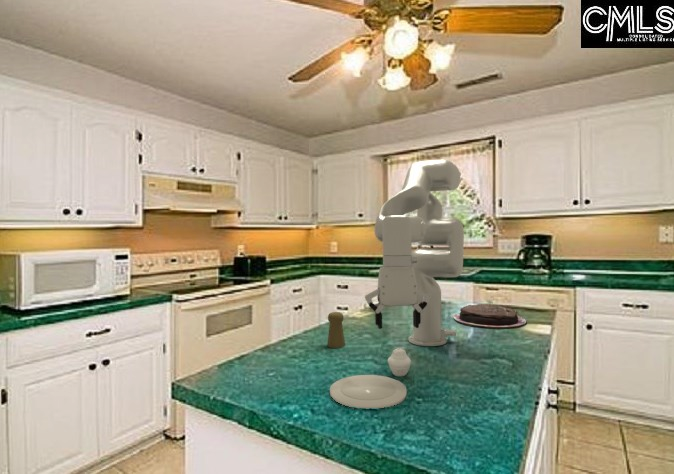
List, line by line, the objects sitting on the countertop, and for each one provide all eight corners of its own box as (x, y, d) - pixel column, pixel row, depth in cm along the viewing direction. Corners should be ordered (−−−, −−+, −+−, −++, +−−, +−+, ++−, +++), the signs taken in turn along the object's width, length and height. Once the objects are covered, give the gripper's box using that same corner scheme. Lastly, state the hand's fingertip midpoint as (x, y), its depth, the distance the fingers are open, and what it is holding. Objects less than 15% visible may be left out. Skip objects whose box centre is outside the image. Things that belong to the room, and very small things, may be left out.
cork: (343, 348, 132) (342, 314, 132) (325, 347, 134) (324, 314, 133) (346, 343, 138) (346, 310, 138) (329, 342, 139) (328, 310, 139)
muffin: (405, 380, 104) (405, 353, 103) (384, 376, 107) (383, 349, 107) (414, 372, 109) (414, 346, 109) (393, 368, 112) (393, 343, 112)
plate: (397, 377, 106) (397, 372, 106) (415, 407, 88) (415, 402, 88) (328, 380, 105) (328, 375, 105) (332, 411, 87) (331, 406, 87)
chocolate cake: (530, 318, 170) (530, 302, 170) (520, 333, 147) (520, 315, 146) (463, 312, 185) (463, 297, 185) (444, 325, 162) (443, 308, 161)
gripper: (425, 261, 111) (426, 323, 111) (362, 261, 110) (363, 325, 110) (433, 262, 104) (434, 329, 104) (366, 263, 103) (367, 331, 103)
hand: (397, 327), depth 107 cm, fingers open, 9 cm apart
